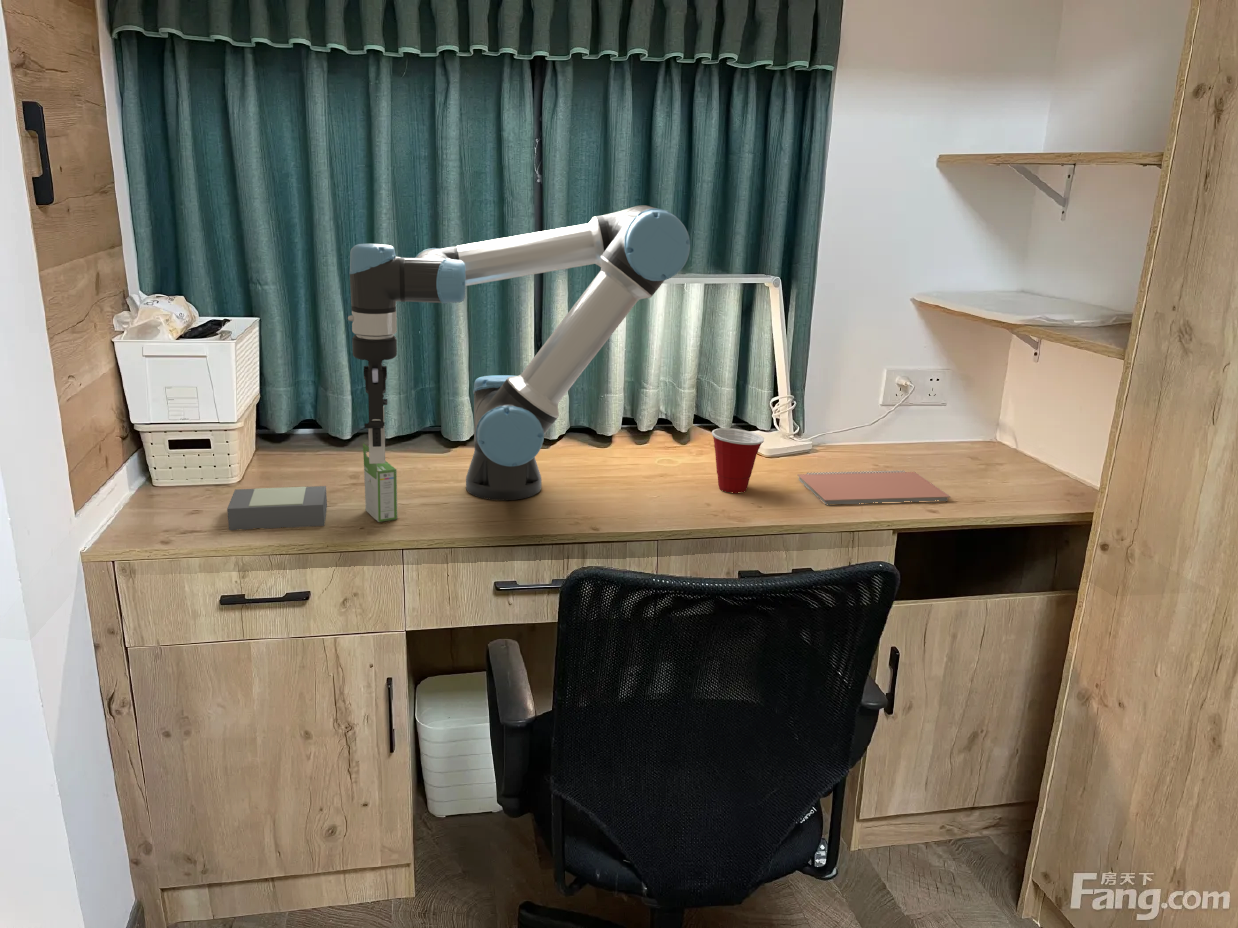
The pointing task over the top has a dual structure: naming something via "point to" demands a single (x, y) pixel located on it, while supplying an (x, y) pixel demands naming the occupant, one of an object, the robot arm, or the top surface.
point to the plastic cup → (735, 457)
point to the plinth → (277, 507)
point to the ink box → (380, 489)
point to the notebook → (871, 487)
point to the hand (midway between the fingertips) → (377, 451)
